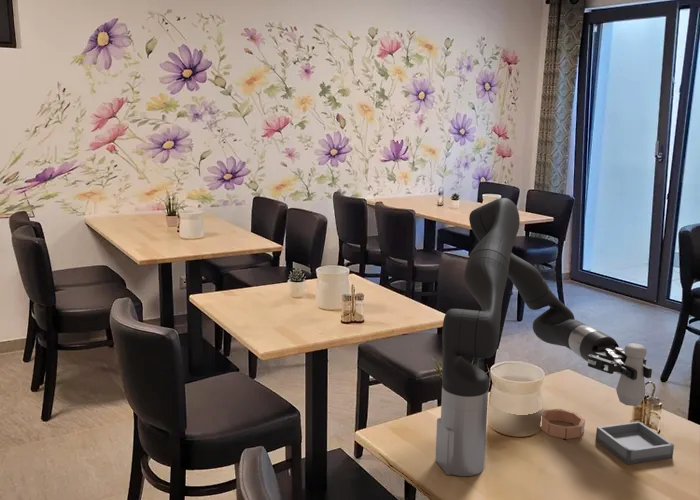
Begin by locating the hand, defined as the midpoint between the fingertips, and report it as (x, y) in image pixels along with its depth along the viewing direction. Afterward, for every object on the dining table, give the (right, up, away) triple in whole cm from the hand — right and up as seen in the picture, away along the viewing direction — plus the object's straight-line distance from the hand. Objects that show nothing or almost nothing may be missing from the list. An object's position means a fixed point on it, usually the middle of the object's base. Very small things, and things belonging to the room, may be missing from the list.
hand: (642, 374), depth 142 cm
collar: (-13, -15, +14) cm, 24 cm away
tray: (0, -17, +5) cm, 18 cm away
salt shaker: (-1, -7, +4) cm, 8 cm away
